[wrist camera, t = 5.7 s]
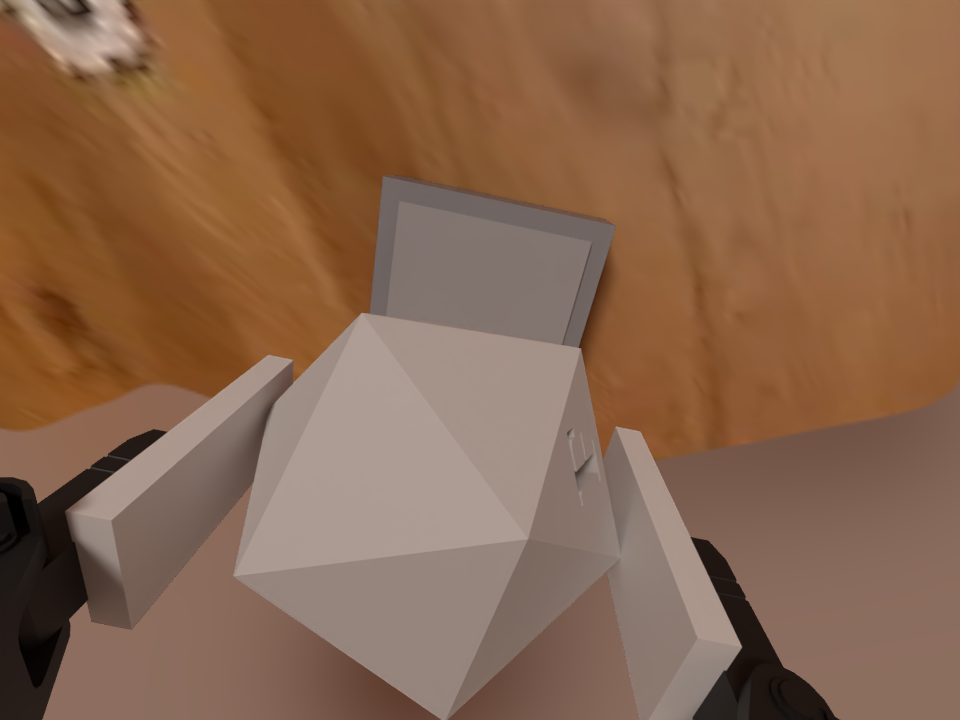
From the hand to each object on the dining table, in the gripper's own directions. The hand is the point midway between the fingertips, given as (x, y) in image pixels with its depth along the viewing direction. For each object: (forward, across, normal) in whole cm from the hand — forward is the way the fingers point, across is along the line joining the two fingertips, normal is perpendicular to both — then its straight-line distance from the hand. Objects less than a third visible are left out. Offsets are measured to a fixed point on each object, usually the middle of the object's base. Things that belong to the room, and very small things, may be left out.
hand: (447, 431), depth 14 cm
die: (+2, 0, 0) cm, 2 cm away
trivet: (+15, 0, 0) cm, 15 cm away
